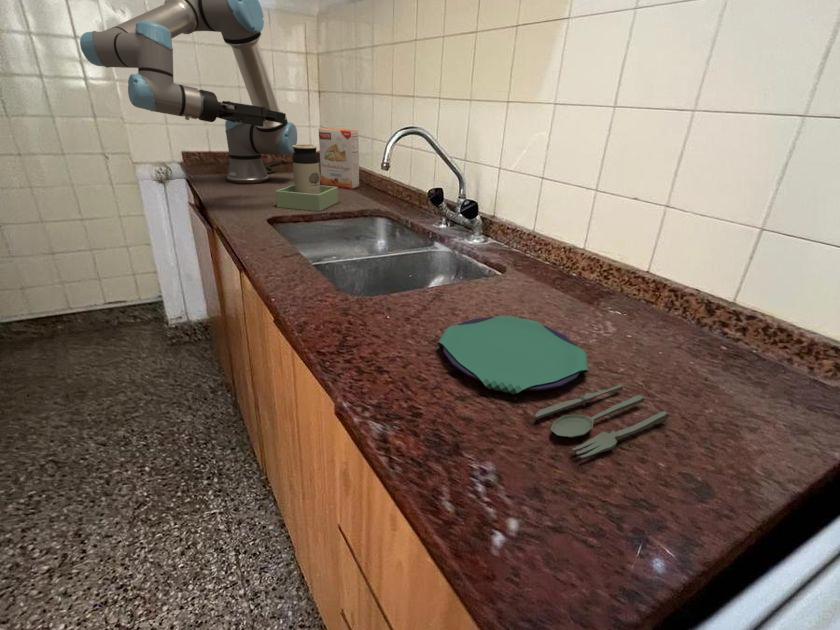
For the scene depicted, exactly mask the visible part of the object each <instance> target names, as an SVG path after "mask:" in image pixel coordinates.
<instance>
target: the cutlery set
mask: <svg viewBox="0 0 840 630" xmlns="http://www.w3.org/2000/svg"><path fill="white" fill-rule="evenodd" d="M437 344H438V345H439V346H440V347H442V348H443V354H444V356H445V357H446V358H447V360H448V361H449V362H450V364H451V365H452V366H453V367H454V368H456V369H457V370H459V371H460V372H461V373H463V374H464V375H466V376H467V377H469V378H472V379H474V380H477V381H478V382H481V383H482V384H483V385H484V386H485V388H487V389H488V390H495V391H499V392H503V393H509V394H512V395H516V394H518V393H520V392H522V391H533V392H535V391H536V392H537V391H538V392H540V391H545V390H551V389H557V388H561V387H563V386H565V385H567V384H569V383H571V382H573V381H575V380H576V379H577V377H578V376H579V375H580V373H581V374H586V373H589V365H588V361H589V359H588V355H587V352H586V351H585V350H583V349H582V348H581V347H579V346H578V345H577V344H576V343H575V342H574V341H572V339H570V338H569V337H568V336H566V335H565V334H563V333H561V332H559V331H557V330H555V329H553V328H551V327H549V326H547V325H543V324H542V323H540V322H539V321H536V320H531V319H529V318H527V319H525V318H523V317H521V318H519V317H517V316H514V317H512V316H511V315H508V316H506V315H497V316H486V317H479V318H472V319H469V320H466V321H462V322H460V323H458V324H455V325H451V326H447V327H446V328H445V329H444V331H443V332H442V334H441V336H440V337H439V339H438V341H437ZM623 388H624V386H623V385H622V384H621V383H618V384H617V385H615V386H612V387H610V388H607V389H603V390H599V391H596V392H586V393H585V394H584V395H581V394H578V398H574V399H569V400H565V401H561V402H558V403H556V404H553V405H550V406H548V407H544V408H542V409H539V410H538V411H537V412H536V413H535V416H534V419H535V420H538V419H541V418H544V417H548V416H550V415H553V414H555V413H559V412H561V411H564V410H566V409H569V408H572V407H575V406H578V405H582V406H583V407H585V405H586V403H587V402H591V403H592V402H593V401H594V400H595V399H596V398H598V397H600V396H604V395H606V394H608V393H610V392H614V391H619V390H620V391H623ZM645 400H646V397H644V396H642V395H641V394H638V395H635V396H633V397H630V398H628V399H626V400H623V401H621V402H619V403H616V404H614V405H612V406H610V407H609V408H607V409H605V410H603V411H600V412H598V413H596V414H595V415H593V416H588V415H584V414H577V413H573V414H567V415H562V416H560V417H559V418H557V419H556V420H554V421H553V422H552V424H551V427H550V431H552V432H553V433H554V434H555V435H556V436H559V437H564V438H566V437H567V438H571V439H572V438H578V437H582V436H585V435H587V434H588V433H589V432H590V431H591V430H592V429H593V428H594V422H595V421H597V420H599V419H602V418H604V417H606V416H609V415H611V414H613V413H616V412H619V411H621V410H624V409H627V408H629V407H632V406H635V405H639V404H642V403H644V402H645ZM669 416H670V413H669V412H667V411H665V410H663V411H660V412H658V413H656V414H654V415H651V416H649V417H648V418H646V419H644V420H641V421H640V422H638V423H636V424H633V425H631V426H628V427H626V428H623V429H620V430H617V431H615V430H613V429H612V430H611V431H610V433H609V432H606V431H604V430H601V432H600V433H598V434H597V435H595V436H594V437H592V438H590V439H588V440H586V441H585V442H583V443H581V444H579V445H577V446H575V447H573V448H571V451H572V452H575V455H576V456H579V458H580V459H581V460H583V459H586V458H590V457H592V456H595V455H598V454H599V453H604V452H607V451H611V450H613V449H615V448H616V447H617V443H618V442H619V439H621V438H625V437H627V436H632V435H634V434H637V433H639V432H641V431H643V430H645V429H648V428H650V427H652V426H654V425H656V424H659V423H660V422H663V421H666V420H668V419H669ZM576 451H577V452H576Z"/></svg>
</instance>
